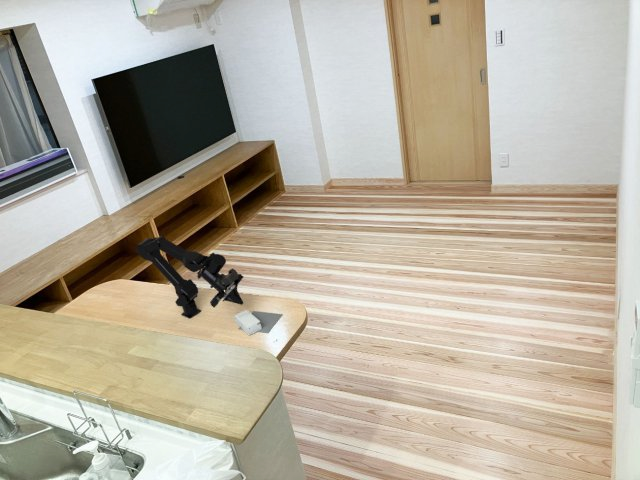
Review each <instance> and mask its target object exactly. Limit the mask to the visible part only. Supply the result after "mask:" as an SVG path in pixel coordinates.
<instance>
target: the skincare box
mask: <svg viewBox="0 0 640 480" xmlns="http://www.w3.org/2000/svg"><path fill="white" fill-rule="evenodd" d="M233 316H234V317H233V318H234V320H235V321H234V322H235V324H236V325H237V326H239V327H241V328H242V329H243V331H244V332H245V333H246V334H247V335H248V336H252V335H253V334H255V333H258V332H257V331H259V330H261V329H262V327H261V323H260V321H259V320H258V319H257V318H256V317H255V316H253V315H252V312H250V311H249V310H248V309H245V310H242V311H241V312H238V313H236V314H234V315H233Z"/></svg>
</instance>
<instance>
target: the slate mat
mask: <svg viewBox="0 0 640 480" xmlns="http://www.w3.org/2000/svg"><path fill="white" fill-rule="evenodd" d="M251 314H252V315H253V316H255V317H256V318H257V319H258V320H259V321H260V323H261V327H262V329H261V330H259V331H257V332H256V333H264V334H269V333H270V332H271V330H272V329H273V328H274V326H275V325H276V324H277V322H278V321H280V319H281V317H283V314H282V313H275V312H274V313H273V312H268V311H267V312H265V311H257V310H253V312H251ZM237 329H238V330H241V331H242V330H243V329H242V328H241V327H240V326H239V327H238V328H237ZM243 331H244V330H243Z"/></svg>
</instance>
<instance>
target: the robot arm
mask: <svg viewBox="0 0 640 480" xmlns="http://www.w3.org/2000/svg"><path fill="white" fill-rule="evenodd" d="M135 249H136V254H138V256H140V257H141V258H142V259H143V260H146V261H148V262H151V263H152V264H153V265H154V267H155V268H156V269H157V270H158V271H159V272H160V273H161V274H162V275H163V276H164V278H165V279H167V281H169V283H170V284H171V285H173V287H174V290H175V295H176V296H177V299H176V300H175V305H176V306H177V307H182V311H183V312H182V313H181V314H180V315H181V316H182V317H185V318H188V319H192V318H193V317H195V316H196V315H198V314H199V313H201V312H202V310H201V309H199V308H198V307H197V303H196V301H195V300H196V298H198V295H199V287H198V286H197V284H196V283H195V282H194V281H193V280H192V279H190V278H189V279H186V278H183V276H181V275H180V273H179V272H178V271H177V270H176V269H175V268H174V267H173V265H172V264H170V262H169V261H168V260H167V259H166V258H165V257H164V256H163V255H162V254H161V252H163V253H165V254H167V255H168V256H170V257H172V258H174V259H176V260H178V261H179V262H181V264H182V265H183V266H184V268H186V269H187V270H189V271H190V272H192V273H196V274H197V279H198V280H200V279H201V278H202V279H203V280H204V281H206V282H207V283H208V284H209V285H210V287H209V288H210V289H213V288H214V289H215V290H216V291H217V293H216V294H215V295H214V296H213V298H212V299H211V300H210V302H209V303H210V306H211V307H212V308H213V309H214V308H216V307H217V306H218V305H219V303H220V302H221V300H222V302H230V303H232V304H237V305H241V306H242V305H244V300H243V299H242V297H241V295H240V293H239V290H238V287H239V283H240V282H241V281H242V280H243V278H244V276H243V275H242V274H241V273H238V272H237V270H236V269H235V268H229V270H228V271H227V272H228V273H227V274H224V273H220V271H221V270H222V269H223V268H224V266H225V265H226V263H227V259H226V257H225V256H223V254H219V253H214V252H212V253H210V255H209V256H208V255H205V254H202V253H200V252H196V251H194V250H193V251H189V250H187V249H184V248H182V247H181V246H179V245H177V244H175V243H173V242H172V241H170V240H168V239H166V236H164V235H163V236H155V237H153V238H151V237H150V238H149V237H148V238H146V239H144V240H142V242H140V243H138V244H137V245H136V246H135Z"/></svg>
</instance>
